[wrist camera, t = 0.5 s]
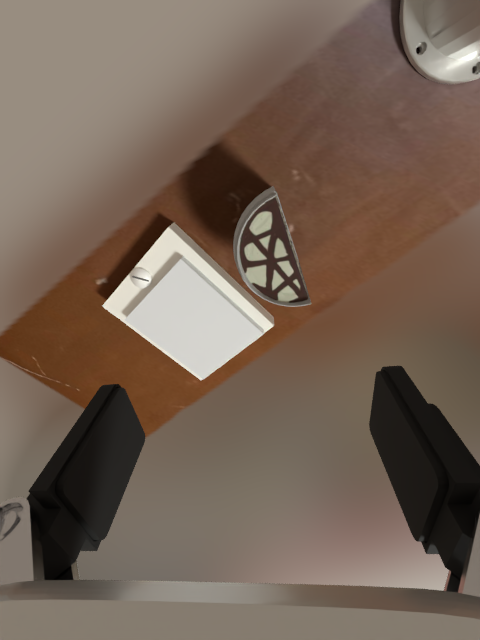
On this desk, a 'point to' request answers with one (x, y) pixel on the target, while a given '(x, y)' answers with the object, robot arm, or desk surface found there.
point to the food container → (269, 253)
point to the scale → (188, 305)
